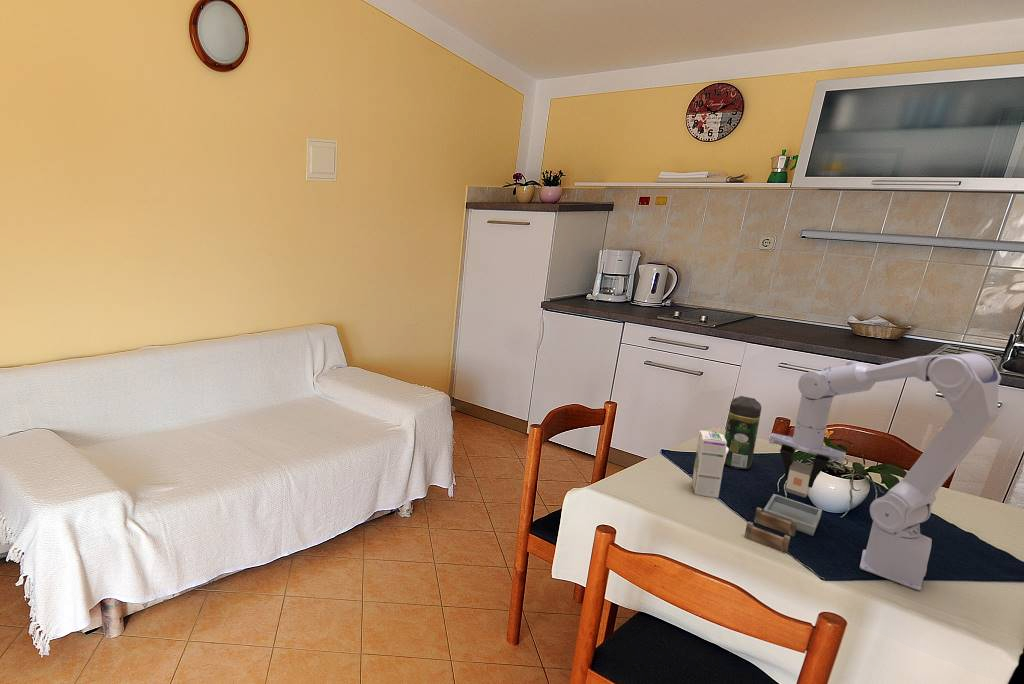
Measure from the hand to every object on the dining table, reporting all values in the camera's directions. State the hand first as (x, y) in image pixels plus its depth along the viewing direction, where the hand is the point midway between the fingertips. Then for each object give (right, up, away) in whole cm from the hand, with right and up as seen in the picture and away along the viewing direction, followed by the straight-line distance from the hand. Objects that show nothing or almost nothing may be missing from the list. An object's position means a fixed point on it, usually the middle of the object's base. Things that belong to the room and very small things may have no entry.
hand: (798, 482), depth 118 cm
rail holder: (-10, -10, -6) cm, 15 cm away
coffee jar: (-2, -3, +30) cm, 30 cm away
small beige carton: (0, -2, 0) cm, 2 cm away
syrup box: (-17, -5, +11) cm, 21 cm away
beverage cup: (-13, -4, +18) cm, 23 cm away
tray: (-1, -8, +2) cm, 9 cm away
